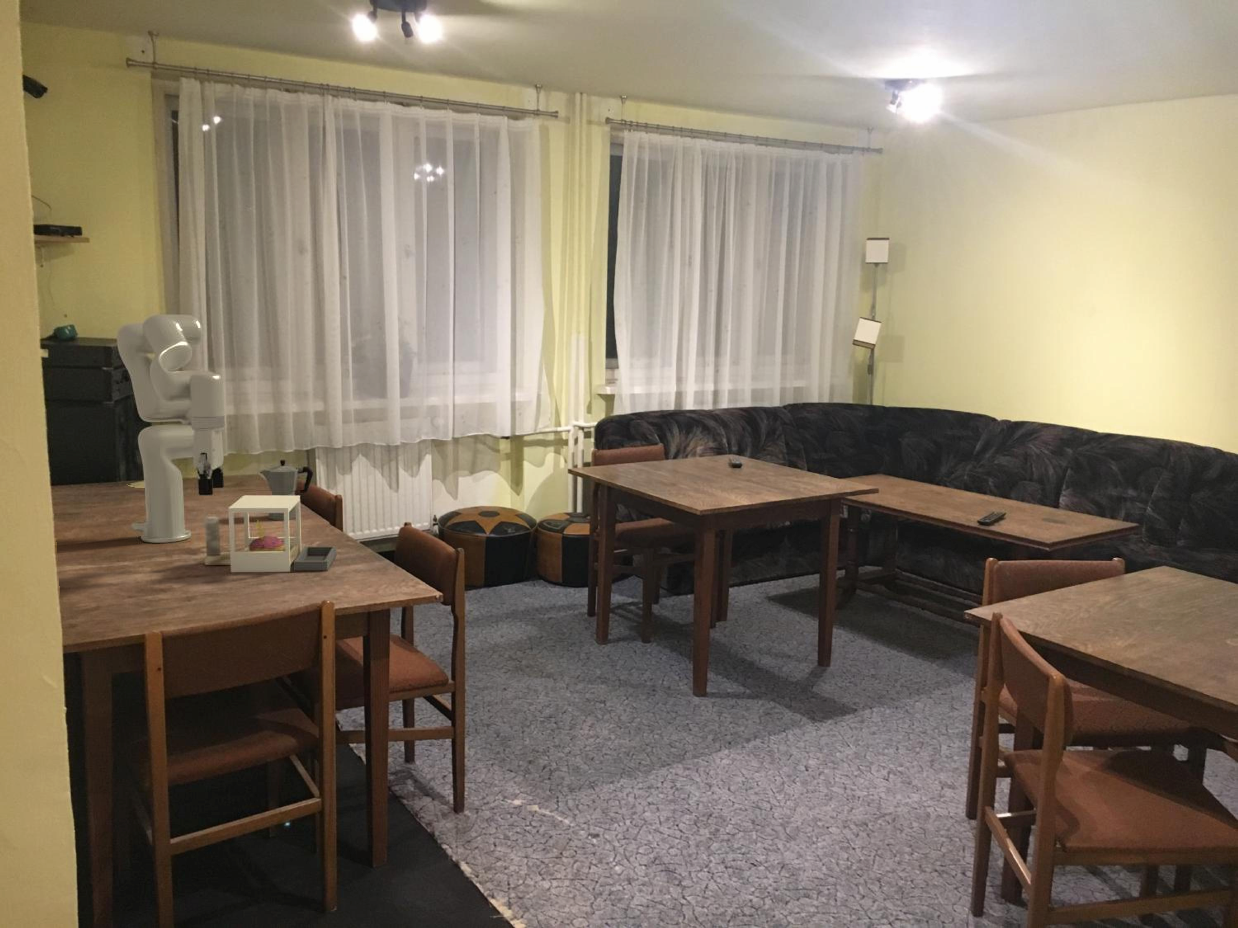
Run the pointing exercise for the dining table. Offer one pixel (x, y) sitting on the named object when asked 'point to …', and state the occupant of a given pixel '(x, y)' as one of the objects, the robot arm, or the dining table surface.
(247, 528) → the white open frame box
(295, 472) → the coffeepot
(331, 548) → the grey shallow rectangular tray
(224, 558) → the cream frame with post
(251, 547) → the cupcake
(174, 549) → the dining table surface
